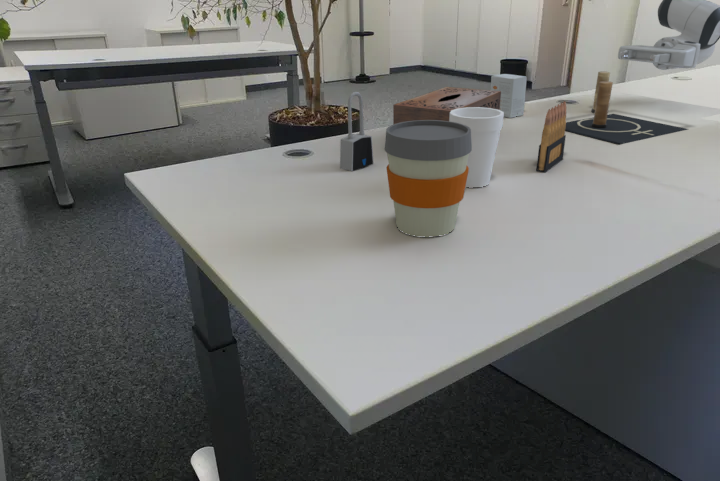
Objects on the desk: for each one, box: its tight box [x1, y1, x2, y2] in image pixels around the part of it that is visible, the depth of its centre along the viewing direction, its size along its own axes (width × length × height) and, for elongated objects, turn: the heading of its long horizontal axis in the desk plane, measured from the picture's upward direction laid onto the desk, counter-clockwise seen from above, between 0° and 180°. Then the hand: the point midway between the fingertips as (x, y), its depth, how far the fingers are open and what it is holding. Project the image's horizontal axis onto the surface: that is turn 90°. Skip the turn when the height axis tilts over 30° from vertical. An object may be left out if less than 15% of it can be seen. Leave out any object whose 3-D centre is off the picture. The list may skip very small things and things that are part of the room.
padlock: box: [339, 91, 374, 172], centre depth 110 cm, size 7×4×15 cm, turn 138°
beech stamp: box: [592, 80, 614, 128], centre depth 135 cm, size 3×3×11 cm
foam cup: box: [449, 107, 505, 189], centre depth 100 cm, size 10×9×13 cm
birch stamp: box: [591, 70, 611, 113], centre depth 152 cm, size 3×3×11 cm
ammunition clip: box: [535, 100, 567, 173], centre depth 108 cm, size 11×2×12 cm, turn 144°
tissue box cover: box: [392, 86, 501, 125], centre depth 128 cm, size 26×14×10 cm, turn 145°
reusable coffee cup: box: [384, 120, 472, 237], centre depth 81 cm, size 13×13×15 cm
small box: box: [490, 73, 528, 119], centre depth 151 cm, size 8×6×10 cm
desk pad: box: [565, 113, 689, 146], centre depth 136 cm, size 22×24×1 cm
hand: (636, 57), depth 149 cm, fingers open, 8 cm apart
